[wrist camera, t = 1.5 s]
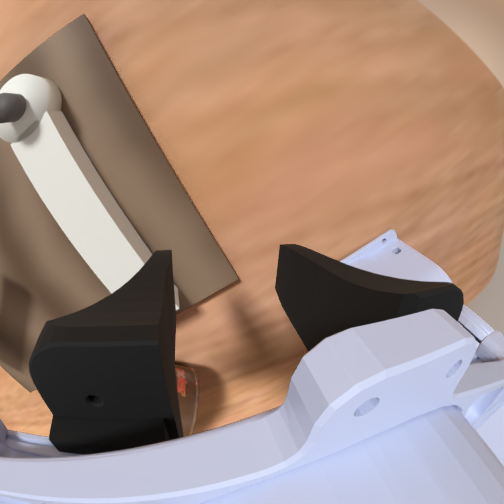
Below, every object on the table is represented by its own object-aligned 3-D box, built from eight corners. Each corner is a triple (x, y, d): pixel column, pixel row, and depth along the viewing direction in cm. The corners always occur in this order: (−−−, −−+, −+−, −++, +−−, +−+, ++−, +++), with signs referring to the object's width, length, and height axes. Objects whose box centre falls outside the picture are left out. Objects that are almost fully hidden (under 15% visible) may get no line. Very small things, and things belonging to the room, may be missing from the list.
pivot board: (87, 18, 12) (61, -13, 7) (235, 272, 23) (255, 317, 18) (-93, 225, 12) (-126, 249, 7) (32, 385, 23) (21, 426, 18)
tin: (154, 431, 29) (160, 491, 22) (128, 426, 28) (130, 487, 21) (196, 348, 25) (211, 426, 18) (163, 339, 24) (167, 420, 17)
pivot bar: (3, 105, 12) (-16, 105, 10) (47, 65, 12) (31, 59, 10) (139, 310, 21) (137, 331, 18) (183, 285, 21) (186, 305, 18)
